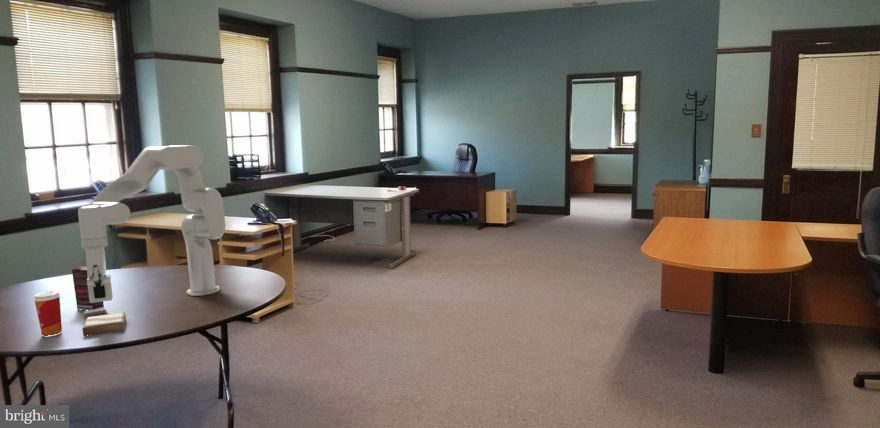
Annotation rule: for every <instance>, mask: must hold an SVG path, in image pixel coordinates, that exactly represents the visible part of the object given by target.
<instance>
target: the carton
mask: <svg viewBox="0 0 880 428" xmlns="http://www.w3.org/2000/svg"><path fill="white" fill-rule="evenodd" d="M99 277H101V275H99ZM111 277H112V276H111V274H110V273H107V274H105V275H104V277H103V286H104V287H105V295H106V296H105V298H97V299H95V297H94V288H93V287H94V284H93V276H92V277H91V278H90V279H89V278H87V286H88V293H89V301H90V303H94V302H102V301H103V302H108V301H112V300H113V290H112V289H113V288H112V278H111ZM100 280H101V279H100Z"/></svg>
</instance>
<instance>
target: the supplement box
mask: <svg viewBox="0 0 880 428" xmlns="http://www.w3.org/2000/svg"><path fill="white" fill-rule="evenodd" d="M71 273H72V281H73V288H74V294H75V302H76V309H82V310H94V309H99V308H105V305H104V301H102V302H94V303H90V301H89V293H88V286H87V278H88V275H87V266H82V265H81V266H78V267H75V268H72V269H71ZM92 276H93V275H92ZM82 310H81V311H82Z"/></svg>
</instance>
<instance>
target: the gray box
mask: <svg viewBox="0 0 880 428" xmlns="http://www.w3.org/2000/svg"><path fill="white" fill-rule="evenodd" d="M107 314H109V312H108V311H107V309H106V307H104V308H99V309H94V310H88V311H83V316H84V317H83V318H84V321H85V320H86V318H87V317H93V316H100V315H107Z"/></svg>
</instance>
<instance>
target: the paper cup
mask: <svg viewBox="0 0 880 428" xmlns="http://www.w3.org/2000/svg"><path fill="white" fill-rule="evenodd" d="M60 298H61V294H60V293H59V291H57V290H53V291H51V290H50V291H43V292H39V293H36V294H35V295H34V296H33V299H32V300H33V301H34V305H35V310H36V313H37V317H38V323H39V327H40V332H41V336H42V335H44V336H48V335H54V334H58V333H60V332H61V331H63V330H62V329H63V327H62V313H61V312H62V311H61V299H60Z"/></svg>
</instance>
